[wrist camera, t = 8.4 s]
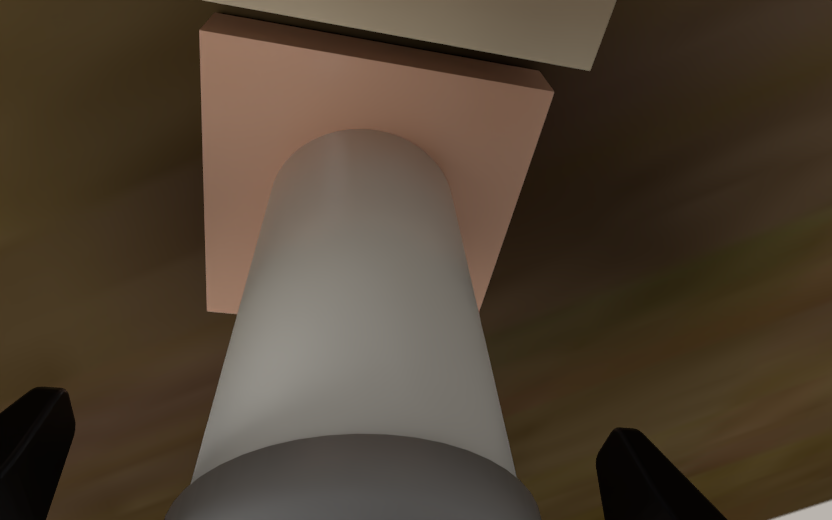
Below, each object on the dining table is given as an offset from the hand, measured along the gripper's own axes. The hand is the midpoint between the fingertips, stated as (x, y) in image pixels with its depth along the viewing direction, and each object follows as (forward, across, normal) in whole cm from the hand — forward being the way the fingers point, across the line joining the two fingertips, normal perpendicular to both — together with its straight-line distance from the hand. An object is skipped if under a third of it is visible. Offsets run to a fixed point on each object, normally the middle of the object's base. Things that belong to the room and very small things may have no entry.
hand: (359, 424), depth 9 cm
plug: (+7, 0, 0) cm, 7 cm away
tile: (+8, 0, 0) cm, 8 cm away
